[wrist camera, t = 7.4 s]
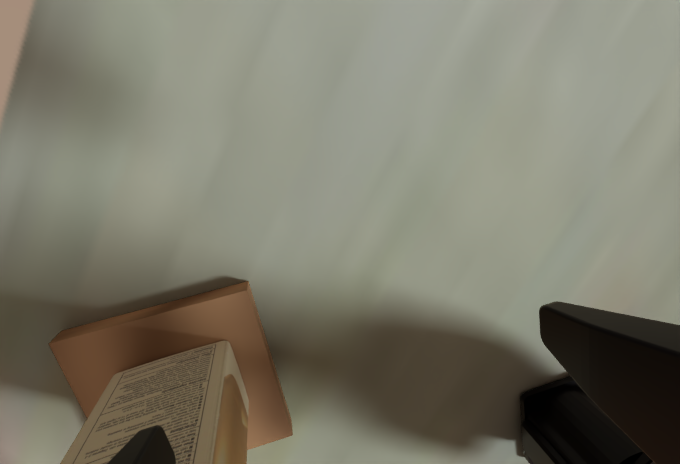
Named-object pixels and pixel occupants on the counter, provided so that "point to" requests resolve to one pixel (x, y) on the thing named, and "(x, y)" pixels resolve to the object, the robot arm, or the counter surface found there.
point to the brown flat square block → (175, 337)
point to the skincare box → (172, 409)
